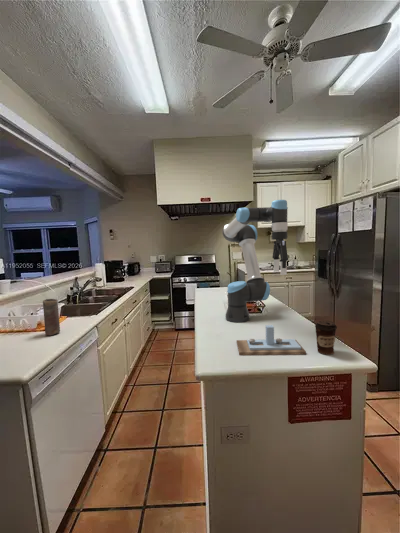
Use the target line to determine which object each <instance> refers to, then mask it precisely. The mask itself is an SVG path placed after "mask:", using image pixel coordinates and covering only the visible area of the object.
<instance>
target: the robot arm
mask: <svg viewBox="0 0 400 533" xmlns="http://www.w3.org/2000/svg"><path fill="white" fill-rule="evenodd" d="M288 208H289V207H288V201H287V200H286V199H276V200H275V199H274V200H273V201H271V206H269V207H264V206H263V207H239V208H237V210H236V214H235V218H234V219H232V220H231V221H230V222H229V223H228V224H225V225H224V227H222V237H223V238H224V239H225V240H226V241H227V242H230V243H238V246H239V247H240V248H241V252H242V255H243V260H244V266H245V272H246V276H247V280H246V281H244V280H238V281H233V282H230V283H229V284H228V285H227V291H226V292H227V310H226V312H225V315H224V316H225V320H226V321H228V322H231V323H244V322H247V321H250V320H251V319H250V317H251V316H250V313H249V310H248V307H247V306H248V305H247V303H248V302H249V303H250V302H262V301H267V300H268V298H269V297H270V293H271V287H270V286H271V285H270V283H269V282H267V281H266V280H265V278H264V277H263V276H262V275H261V270H260V265H259V261H258V256H257V251H256V246H255V244H256V242H257V240H258V230H257V228H256V227H255V225H253V224H250V223H253V222H254V223H261V222H263V223H271V225H270V228H271V231H272V232H271V239H272V240H274V241H273V248H272V249H273V251H272V259H273V272H276V273H277V272H280V276H286V275H287V274H288V273H287V266H288V264H287V262H288V260H289V255H288V250H287V249H288V248H287V241H286V240H287V239H288V225H289V224H288V223H289V222H288V210H289V209H288Z"/></svg>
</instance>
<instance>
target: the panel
mask: <svg viewBox="0 0 400 533" xmlns="http://www.w3.org/2000/svg"><path fill="white" fill-rule="evenodd" d="M276 339H277V338H276ZM276 339H275V327H274V325H273V324H265V339H255V343H253V345H251V343H250V342H249V339H246V340H247V343H248V346H249V349H250V350H301V346H302V345H301V344H300V343H299V342H298V341H297V342H298V343H299V344H300V345H301V346H300V345H299V344H298V343H297V342H296V341H295V340H296V339H295V338H283V339H282V338H281V339H282V343H280V344H278V343H277V342H276ZM255 344H263V345H255ZM283 344H290V345H283Z"/></svg>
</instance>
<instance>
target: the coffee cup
mask: <svg viewBox="0 0 400 533" xmlns="http://www.w3.org/2000/svg"><path fill="white" fill-rule="evenodd" d="M314 327H315V335H316V336H315V338H316V348H317V352H318V353H320V354H322V355H326V356H330V355H334V354H335V351H334V350H335V349H334V346H335V342H336V331H337V330H338V329H337V328H338V326H337V325H336V322H334V321H331V320H319V321H317V322H316V323H315V325H314Z"/></svg>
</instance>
